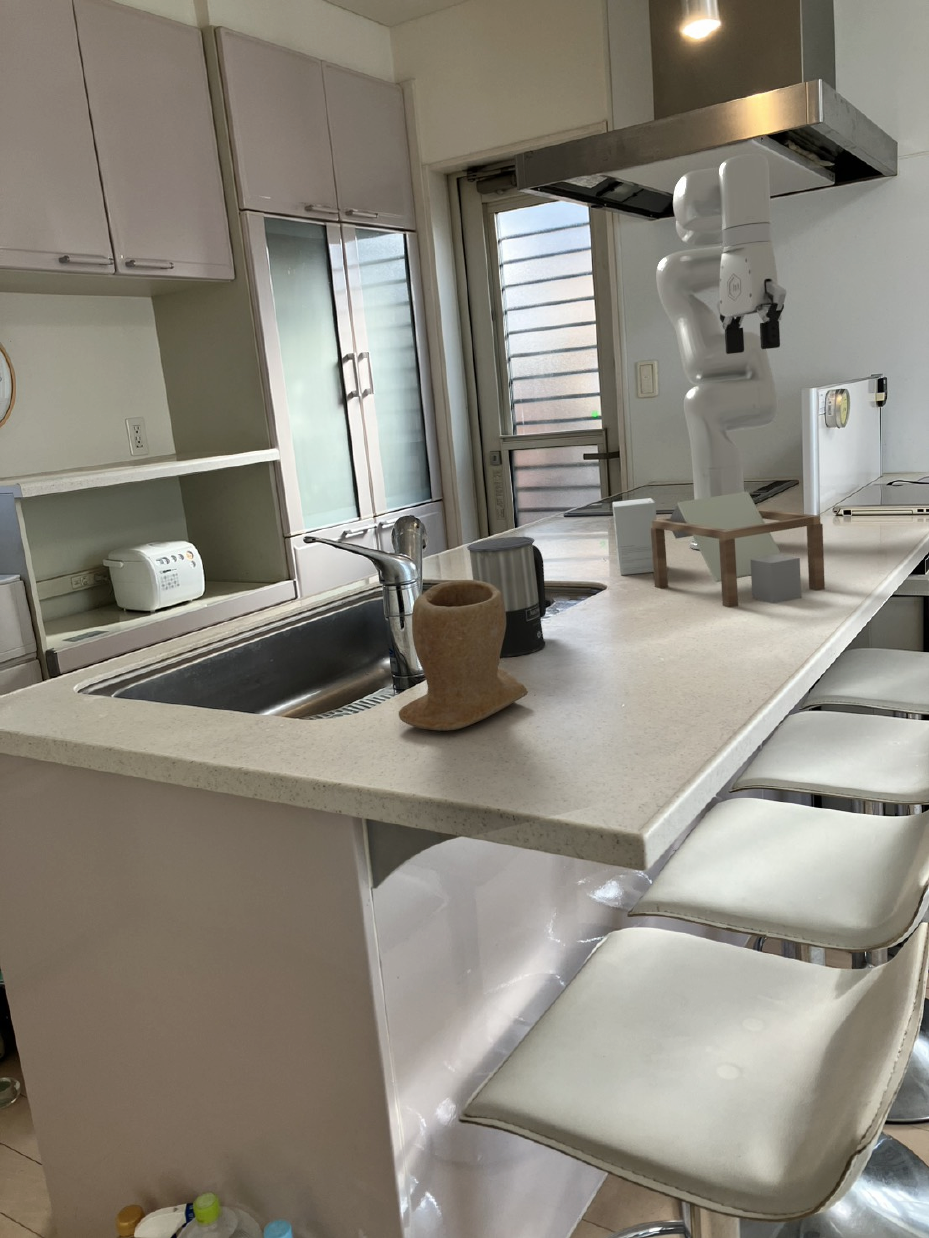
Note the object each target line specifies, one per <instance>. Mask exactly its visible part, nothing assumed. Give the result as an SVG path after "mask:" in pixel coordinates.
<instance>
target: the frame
mask: <svg viewBox="0 0 929 1238" xmlns="http://www.w3.org/2000/svg"><path fill="white" fill-rule="evenodd" d="M757 509H758V511H759V513H760V515H761V517H762V519H763V520H770V521H771V520H772V521H771V522H767V523H765V524H760V525H754V526H748V527H742V528H736V529H730V530H725V529H718V528H712V527H705V526H699V525H692V524H685V523H679V522H672V521H669V519H670V517H664V518H659V519H657V520H652V528H651V540H652V554H653V568H654V572H653V579H654V587H655V588H659V589H661V588H667V587H669V580H668V579H669V578H668V564H667V550H666V535H665V531H669V532H670V531H671V532H672V531H675V532H681V533H687V534H693V535H699V536H705V537H711V538H717V539H719V549H720V566H721V581H720V583H721V598H722V599H721V600H722V606H723V607H727V608H731V607H736V606H739V596H738V594H739V593H738V578H737V573H736V554H735V539H734V538H740V537H746V536H752V535H758V534H764V533H770V534H771V533H775V532H781V531H786V530H792V529H798V528H804V527H806V541H807V542H806V543H807V567H808V568H807V569H808V571H807V572H808V589H809V590H814V591H820V590H824V589H826V585H825V583H826V582H825V560H824V559H825V558H824V557H825V556H824V531H823V530H824V529H823V528H824V527H823V523H822V522H821V515H815V514H808V513H806V514H805V513H800V512H799V513H798V512H789V511H779V510H769V509H762V508H757Z"/></svg>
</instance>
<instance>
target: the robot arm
mask: <svg viewBox="0 0 929 1238" xmlns="http://www.w3.org/2000/svg"><path fill="white" fill-rule="evenodd" d="M770 188H771V185H770V166H769V161H768V158H767V157H766V156H765V155H764V154H762V153H747V154H746V153H745V154H740V155H735V156H732V157H729V158H727V159H725V160H724V161H723V162H722V163H721V165H720V166H718V167H710V168H704V169H703V168H701V169H698V170H692V171H689V172H687V173H685V174H684V175H682V176H681V178H680V179H679V180H678V181H677V184H676V185H675V187H674V191H673V197H672V198H673V200H672V207H673V214H674V218H675V220H676V221H675V230H676V234H677V235H678V237H679V238H680V239H681V241H683V242H684V243H685V244H688V245H690V246H693V247H701V246H703V247H701V248H694V249H693V248H692V249H685V250H680V251H676V252H673V253H670V254H668V255H666V256H665V257H663V258H662V259H661V260H660V261H659V263H658V265H657V267H656V273H655V274H656V276H655V277H656V278H655V279H656V288H657V293H658V297H659V300H660V303H661V306H662V307H663V309H664V311H665V313H666V316H667V317H668V318H669V321H670V322H671V324H672V327H674V328H673V329H674V330H675V333H676V338H677V339H676V340H677V346H678V349H679V354H680V359H681V365H682V367H683V372H684V374H685V378H686V380H687V381H688V382H689V383H691V384H692V385H695V386H693V387H692V388H690V389H689V390H688V391H687V392H686V394H685V396H684V398H683V399H684V400H683V412H684V417H685V422H686V426H687V431H688V437H689V438H688V439H689V443H690V444H689V445H690V453H691V465H692V466H691V468H692V478H693V480H692V481H693V495H694V496H693V497H694V499H693V500H696V499H702V498H709V497H715V496H722V495H728V494H734V493H741V492H745V489H744V483H745V482H744V467H743V455H742V451H741V450H740V448H739V446H738V445H737V444H736V443H735V441H734V440H732V439H731V438H730V436H729V435H728V433H729V432H734V431H740V430H743V431H744V430H751V429H759V428H764V427H767V426H770V425H772V424H773V422H775V421H776V419H777V417H778V414H779V399H778V394H777V392H778V391H777V389H776V384H775V381H774V375H773V372H772V367H771V363H770V360H769V355H768V352H767V351H768V350H767V349H770V350H771V349H778V348H780V346H781V336H780V321H781V320H782V313H783V311H784V308H785V304H784V303H785V300H786V296H787V290H786V288H784V287H782V286H781V285H779V282H778V273H777V271H778V270H777V264H776V263H777V262H776V258H775V252H774V247H773V235H772V234H773V233H772V232H773V231H772V214H771V213H772V212H771V211H772V210H771V191H770ZM721 244H722V245H721ZM712 245H720V246H712ZM704 246H710V247H704ZM714 292H715V293H717V292H719V301H718V302H717V304H716V308H717V311H718V314H719V318H718V315H717V314H716V312H715V311H714V310H713V309H712V308H711V307H710V306H709V305H708V304H707V303H705V302H704V301H702V300H701V299H700V298H698V297H696V296H695V295H698V294H706V293H707V294H708V293H714ZM753 314H758V316H759V317H760V319H761V321H762V322H760V323H759V334H757V333H755V332H751V331H744V327H741V326H742V323H743V320H744V318H745V315H753ZM719 320H720V321H721V323H722V329H723V330H724V332H722V331H721V326H720V323H719V322H720V321H719ZM688 545H689V547H690V548H691V549H693V550H699V548H698V546H697V544H696V542H695V540H694V538H693V539H690V540H688Z"/></svg>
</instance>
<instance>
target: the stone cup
mask: <svg viewBox="0 0 929 1238" xmlns="http://www.w3.org/2000/svg"><path fill="white" fill-rule="evenodd" d="M505 629H506V612H505V605H504V600H503V596H502V594H501V592H500V591H499V590H498V588H496V587H494V586H493V585H491V584H489V583H485V582H482V581H476V580H473V579H456V580H451V581H446V582H440V583H438V584H435V585H434V586H433V585H432V587H431V586H430V587H429V588H428V589H427V590H426V591H425V592H424V593H422V594H419V595H418V596H417V598H416V599H415V600H414V603H413V606H412V610H411V631H412V642H413V646H414V650H415V653H416V657H417V659H418V662H419V665H420V667H421V668H422V671H423V674H424V677H425V681H426V685H427V692H426V694H424V695H422V696H420V697H418V698H417V699H414V700H413V701H410V702H409V703H407V704H406V705H404V706H403V707H401V709H400V710H399V711H398V714H397V715H398V717H399V720H401V721H402V722H403V723H405V724H406V725H409V726H411V727H414V728H418V729H424V730H432V731H454V730H455V731H456V730H459V729H463V728H466V727H468V726H471V725H473V724H475V723H478V722H480V721H483V720H484V719H487V718H488V717H490V716H492V715H494V714H496V713H497V712H499V711H501V710H503V709H504V708H506V707H509V706H510V705H511V704H514V703H515V702H517V701H518V700H520V699H522V698H523V697H525V696H527V694H528V693H529V691H528V689H527V687H526V686H525V684H523V682H521V681H519V680H517V678H515V677H514V676H513V675H509V673H508V672H507V671H506V670H504V669H502V668H500V667H499V663H500V659H501V657H500V653H501V648H502V644H503V639H504V635H505Z"/></svg>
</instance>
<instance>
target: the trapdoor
mask: <svg viewBox="0 0 929 1238" xmlns="http://www.w3.org/2000/svg"><path fill="white" fill-rule="evenodd" d="M758 509H759V508H757V505H756V504H755V501H754V500H753V498H752V496H751V495H750V493H749V491H744V492H741V493H734V494H728V495H722V496H715V497H709V498H702V499H696V500H694V499H689V500H684V501H678V502H677V504H676V506H675V509H674V510H673V512H672V513H671V516H670V517H669V518H670V519H669V521H672V522H679V523H685V524H692V525H699V526H705V527H712V528H718V529H725V530H730V529H736V528H742V527H748V526H754V525H760V524H766V523H765V521H764V519H762V517H761V515H760V513H759V511H758ZM671 532H672V533H673V536H674V538H675V539H683V538H690V537H693V539H694V540H695V542H696V544H697V546H698V548H699V549H698V550H699V552H700V554H701V556H702V557H703V561H705V564H706V567H708V570H709V572H710V574H711V576H712V578H713V581H714V582H715V583H719V582H720V583H721V566H720V549H719V539H717V538H711V537H705V536H699V535H693V534H687V533H681V532H675V531H671ZM734 539H735V554H736V573H737V579H740V578H741V579H742V578H747V577H751V561H750V559H755V558H761V557H766V556H772V555H778V554H780V555H783V554H782V552H781V551H780V549H779V546H778V545H777V542H776V541H775V540H774V539H775V538H773V535H772V534H771V532H770V533H764V534H758V535H752V536H746V537H740V538H734Z"/></svg>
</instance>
